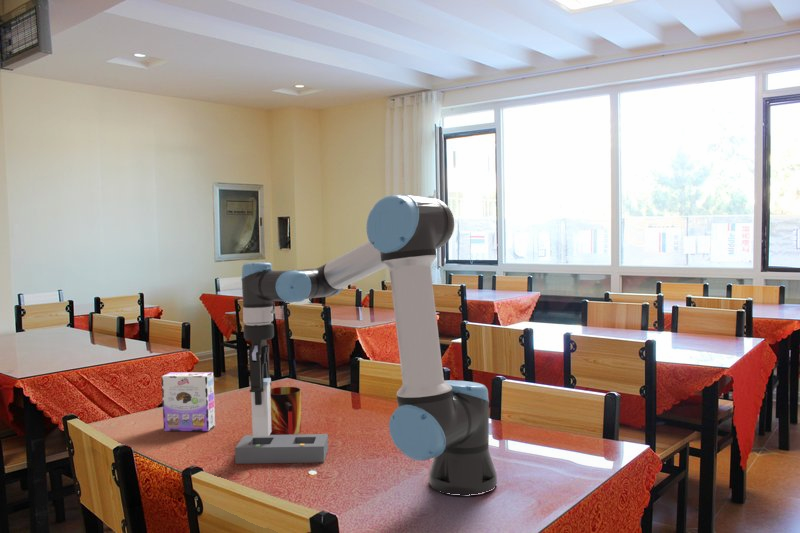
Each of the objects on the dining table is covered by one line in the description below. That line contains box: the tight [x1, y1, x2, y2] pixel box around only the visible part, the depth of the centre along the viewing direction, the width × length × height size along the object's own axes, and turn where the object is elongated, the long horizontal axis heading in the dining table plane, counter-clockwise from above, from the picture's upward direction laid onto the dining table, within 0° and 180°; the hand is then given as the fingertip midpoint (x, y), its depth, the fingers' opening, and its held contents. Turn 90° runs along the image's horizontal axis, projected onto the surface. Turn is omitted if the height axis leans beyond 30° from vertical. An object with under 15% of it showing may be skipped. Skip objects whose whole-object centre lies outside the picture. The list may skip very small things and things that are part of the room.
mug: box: [270, 386, 302, 435], centre depth 182 cm, size 10×14×12 cm
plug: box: [249, 377, 272, 437], centre depth 163 cm, size 4×4×14 cm
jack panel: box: [234, 433, 329, 464], centre depth 163 cm, size 10×22×4 cm, turn 90°
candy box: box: [161, 371, 216, 432], centre depth 188 cm, size 14×6×16 cm, turn 84°
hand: (261, 414), depth 163 cm, fingers closed on plug, 4 cm apart
